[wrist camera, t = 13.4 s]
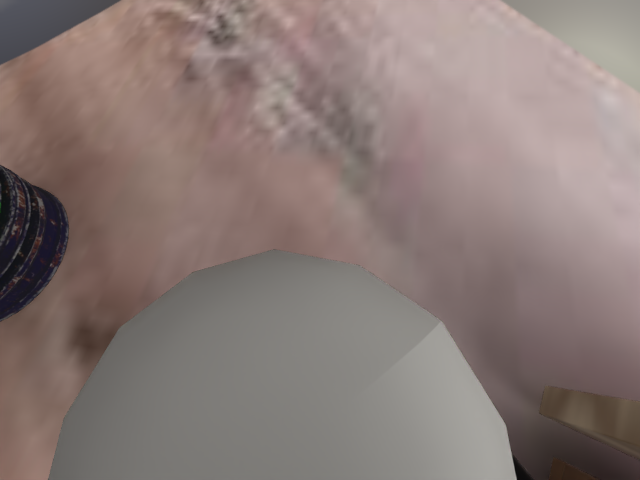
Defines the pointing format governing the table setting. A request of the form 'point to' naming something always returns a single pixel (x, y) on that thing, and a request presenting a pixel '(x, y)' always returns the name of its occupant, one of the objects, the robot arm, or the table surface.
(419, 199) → the table surface
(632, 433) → the drawer
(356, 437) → the white bowling pin
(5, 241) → the storage jar
